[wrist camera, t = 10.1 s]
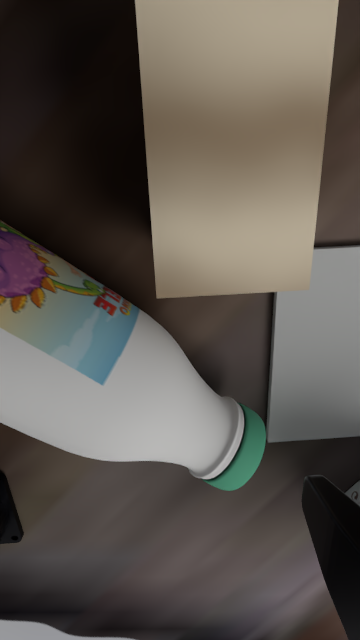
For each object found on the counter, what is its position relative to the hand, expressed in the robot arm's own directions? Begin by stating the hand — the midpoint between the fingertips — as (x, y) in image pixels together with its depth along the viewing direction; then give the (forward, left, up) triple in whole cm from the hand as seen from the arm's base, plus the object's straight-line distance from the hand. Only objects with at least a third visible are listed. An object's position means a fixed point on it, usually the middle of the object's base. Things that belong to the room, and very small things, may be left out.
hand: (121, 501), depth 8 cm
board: (+8, -4, -8) cm, 12 cm away
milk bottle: (+5, +11, -9) cm, 15 cm away
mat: (-3, -12, -12) cm, 18 cm away
